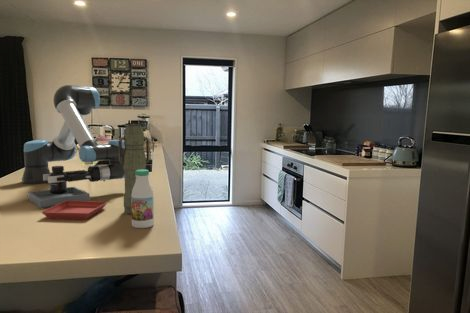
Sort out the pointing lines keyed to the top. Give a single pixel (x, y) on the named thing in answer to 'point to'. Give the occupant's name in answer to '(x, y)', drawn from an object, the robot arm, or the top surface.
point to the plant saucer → (74, 210)
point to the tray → (57, 197)
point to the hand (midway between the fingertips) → (45, 178)
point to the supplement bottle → (58, 186)
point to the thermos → (132, 159)
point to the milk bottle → (142, 201)
